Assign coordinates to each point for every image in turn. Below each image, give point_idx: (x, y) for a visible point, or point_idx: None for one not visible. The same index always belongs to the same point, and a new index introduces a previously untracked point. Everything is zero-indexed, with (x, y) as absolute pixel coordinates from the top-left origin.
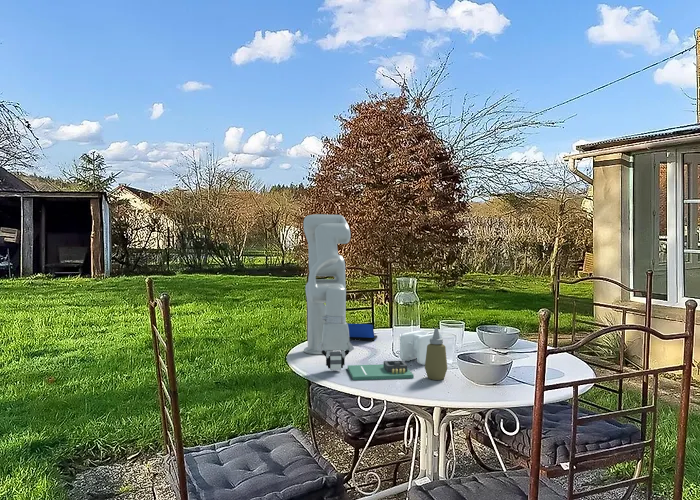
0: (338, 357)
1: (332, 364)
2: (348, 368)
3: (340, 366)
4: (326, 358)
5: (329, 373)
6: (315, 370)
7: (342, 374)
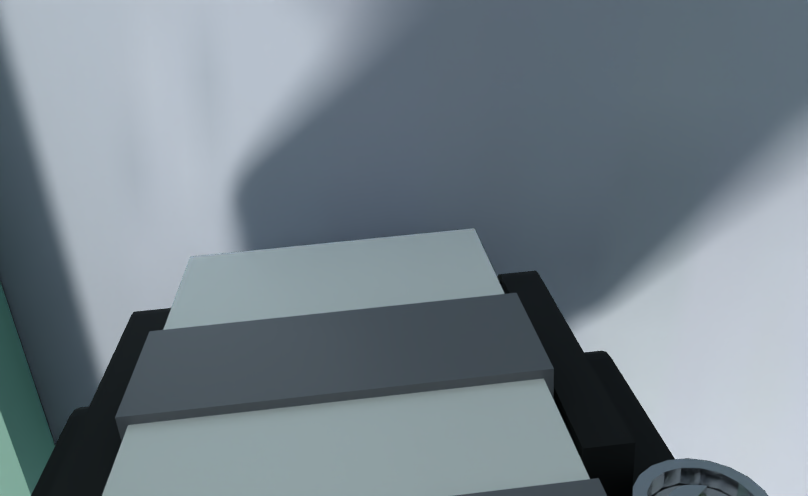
0: (226, 477)
1: (444, 305)
2: (15, 409)
3: (193, 295)
4: (687, 483)
5: (489, 154)
6: (757, 382)
7: (150, 50)
